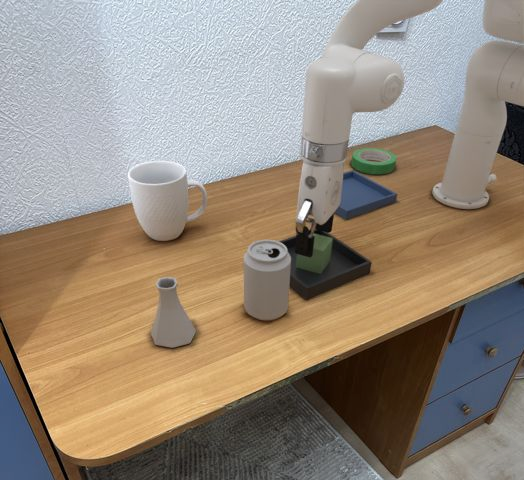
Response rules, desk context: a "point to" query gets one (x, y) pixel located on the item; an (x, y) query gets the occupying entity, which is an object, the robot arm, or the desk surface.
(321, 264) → the block
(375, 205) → the tray
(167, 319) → the flask
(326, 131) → the robot arm
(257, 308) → the can
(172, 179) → the mug
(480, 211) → the desk surface
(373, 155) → the tape roll
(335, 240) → the black shallow box
